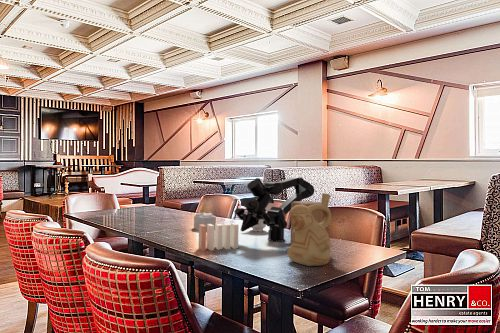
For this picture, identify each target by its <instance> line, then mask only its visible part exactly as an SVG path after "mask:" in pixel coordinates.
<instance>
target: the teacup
mask: <svg viewBox="0 0 500 333" xmlns="http://www.w3.org/2000/svg"><path fill="white" fill-rule="evenodd" d="M266 213H267V211H266ZM263 221H264V220H262V219H260V220H259V222H258V223H259V224H258V225H255V226H253V227H251V228H252V231H253V232H257V231H259V232H263V231H264V229H265V228H266V227H267V225H266V224H263Z"/></svg>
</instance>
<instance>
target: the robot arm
mask: <svg viewBox="0 0 500 333" xmlns="http://www.w3.org/2000/svg"><path fill="white" fill-rule="evenodd" d="M314 187H315V186H314V185H313V184H312V183H310V182H308V181H307V180H305V179H304V178H303V177H301V176H293V177H290V178H287V179H283V180H281V181H270V182H269V181H267V182H264V183H263V182H262V179H261V178H259V177H256V178H255V179H253V180H251V181H250V182H249V183H247V188H248V190H249V192H250V193H251V194H252V195H253V197H254V198H251V199H249V198H244V197H243V198H242V200H241V203H240V206H242V207H245V209H244V208H240V207H237V208H235V210H234V211H233V212H234V214H235V215H236V216H237V217H238V219H239V220H241V221H242V222H241V227H240V232H243V233H244V232H245V231H247V230H248V229H250V228H251V227H253V226H255V225H258V224H259V223H258V222H259V220H260V219H262V220H264V221H263V224H266V227H268V228H269V229H268V230H267V231H268V234H267V236H268V237H267V240H269V241H271V242H286V239H285V229H286V228H287V227H288V222H287V220H286V216H287V214H288V213H290V210H291V203H292V202H293V201H304V200H305V199H309V198H310V197H312V196H313V195H314V194H315V192H316V190H315V188H314ZM291 188H294V191H295V192H294V193H293V194H291V196H289V198H288V199H286V200H285V201H284V202H283V203H282V204H281V205H280V206H271V207H270V208H269V209H268V210H267V209H266V208H267V207H268V205H269V204H275V201H274V197H272V196H278V195H280V194H282V192H283V191H284V190H287V189H291ZM266 212H267V213H266Z"/></svg>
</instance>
